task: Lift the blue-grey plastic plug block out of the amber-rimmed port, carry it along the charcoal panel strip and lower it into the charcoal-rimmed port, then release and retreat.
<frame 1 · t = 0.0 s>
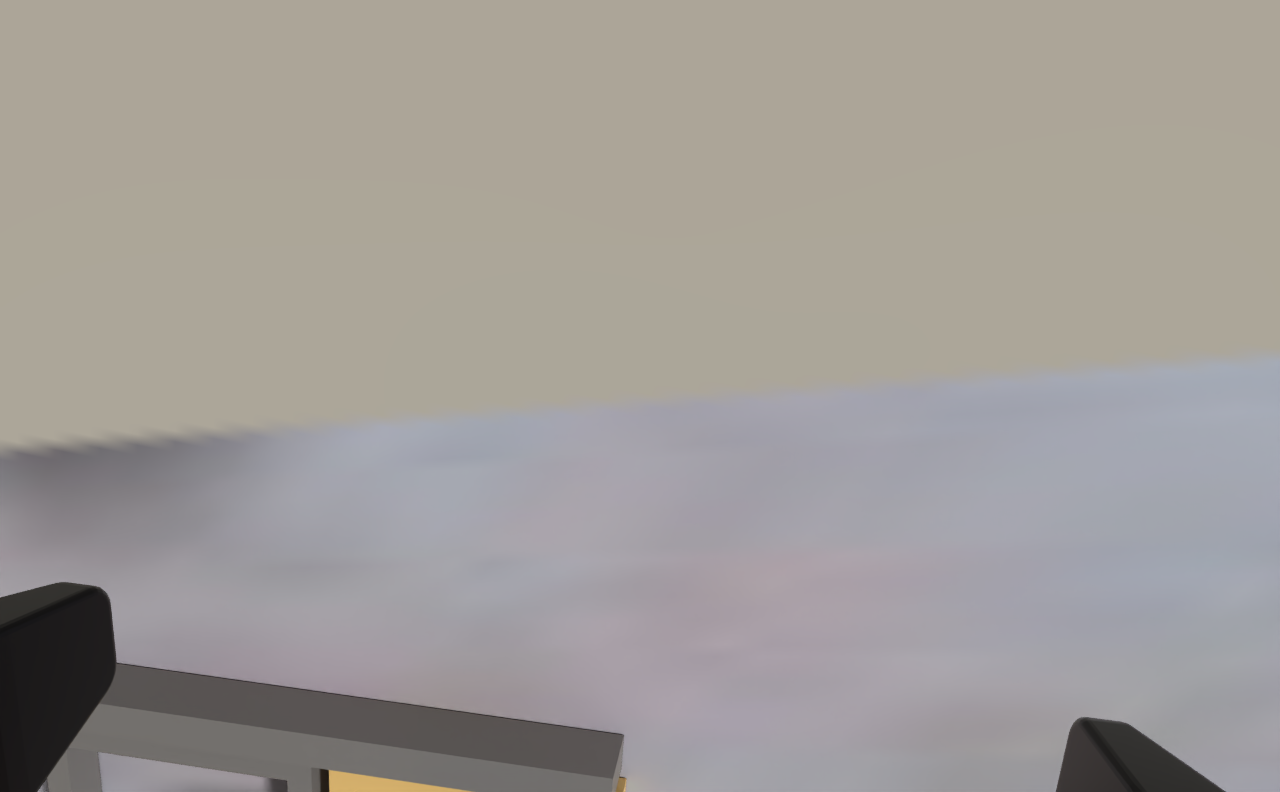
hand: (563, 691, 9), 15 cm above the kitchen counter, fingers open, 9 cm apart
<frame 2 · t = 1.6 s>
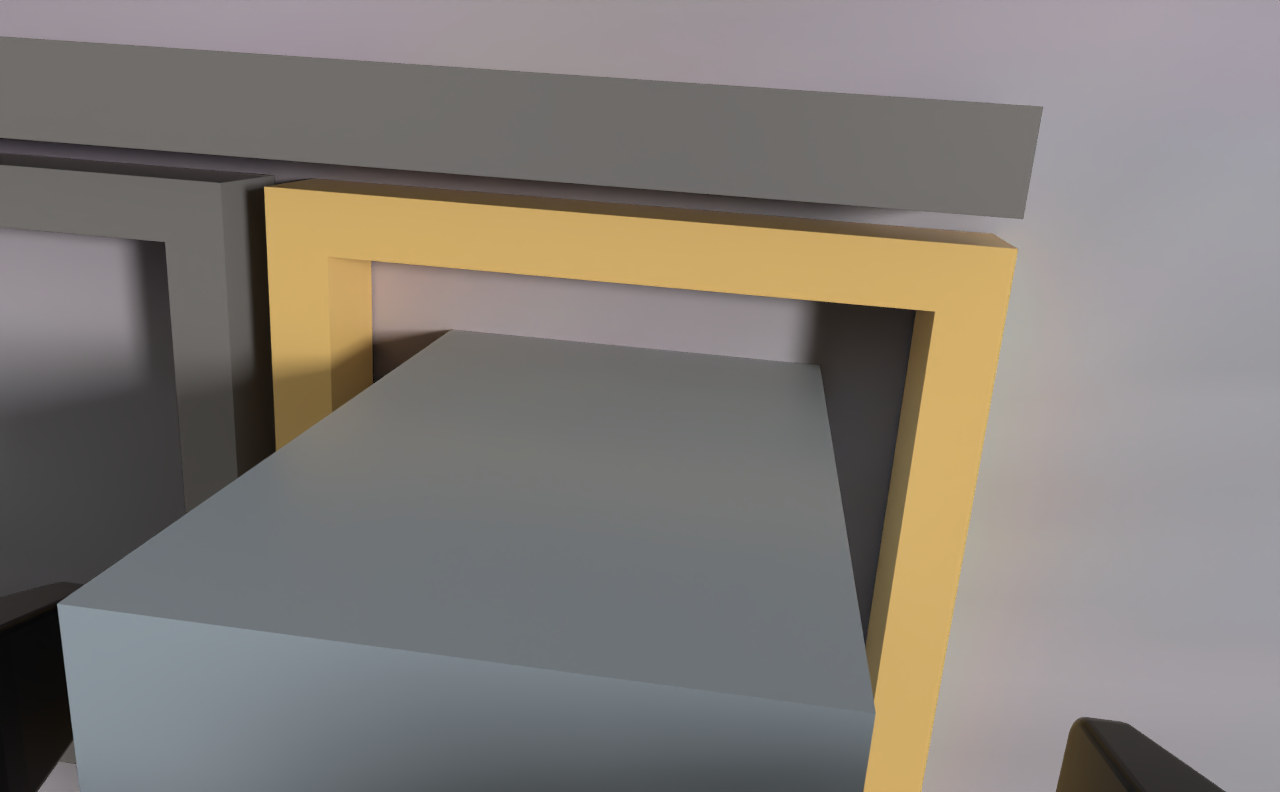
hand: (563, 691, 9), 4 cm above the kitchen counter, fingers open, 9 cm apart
plug: (620, 517, 13), resting in patch panel
patch panel: (305, 482, 13), on the kitchen counter
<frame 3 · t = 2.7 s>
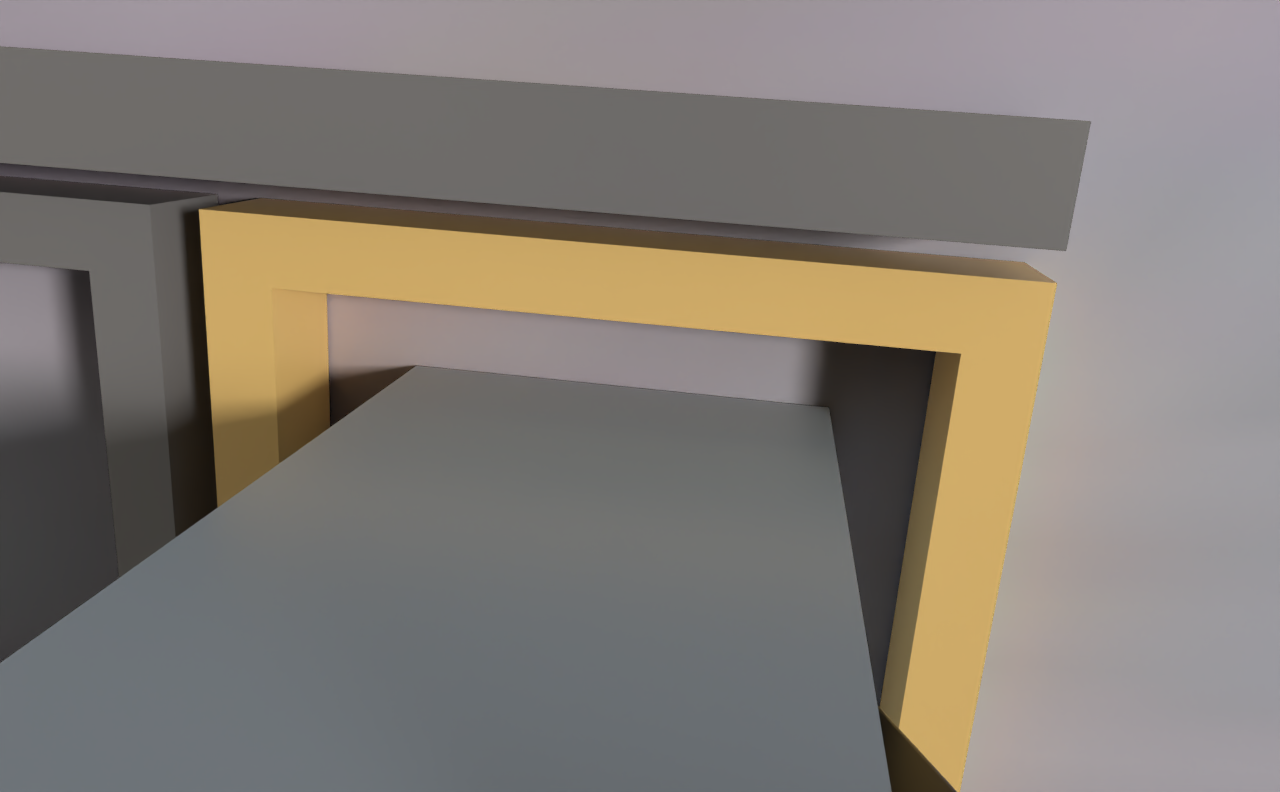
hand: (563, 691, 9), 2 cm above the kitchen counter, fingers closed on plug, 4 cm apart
plug: (606, 574, 11), resting in patch panel, touching gripper
patch panel: (256, 533, 12), on the kitchen counter
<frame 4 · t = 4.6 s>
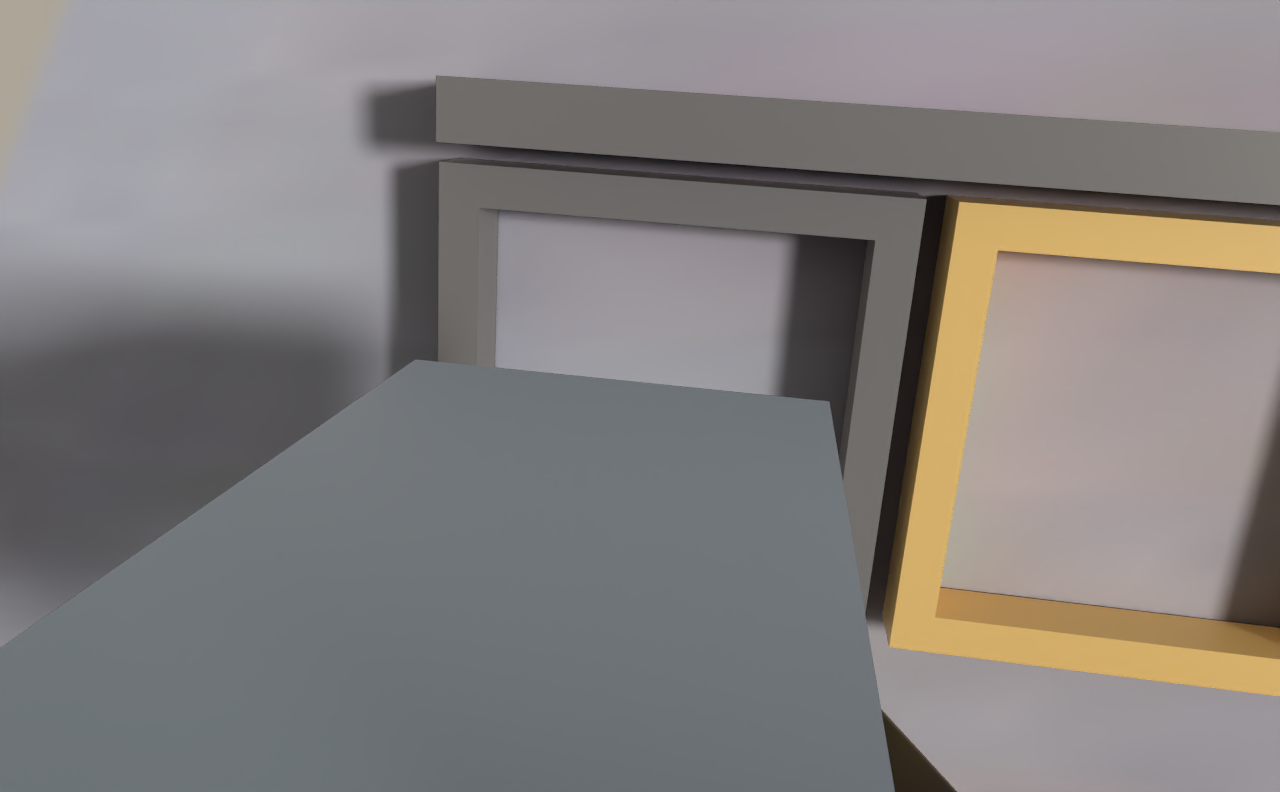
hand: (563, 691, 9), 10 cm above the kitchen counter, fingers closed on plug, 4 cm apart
plug: (605, 569, 11), point 7 cm above the kitchen counter, touching gripper
patch panel: (898, 416, 18), on the kitchen counter
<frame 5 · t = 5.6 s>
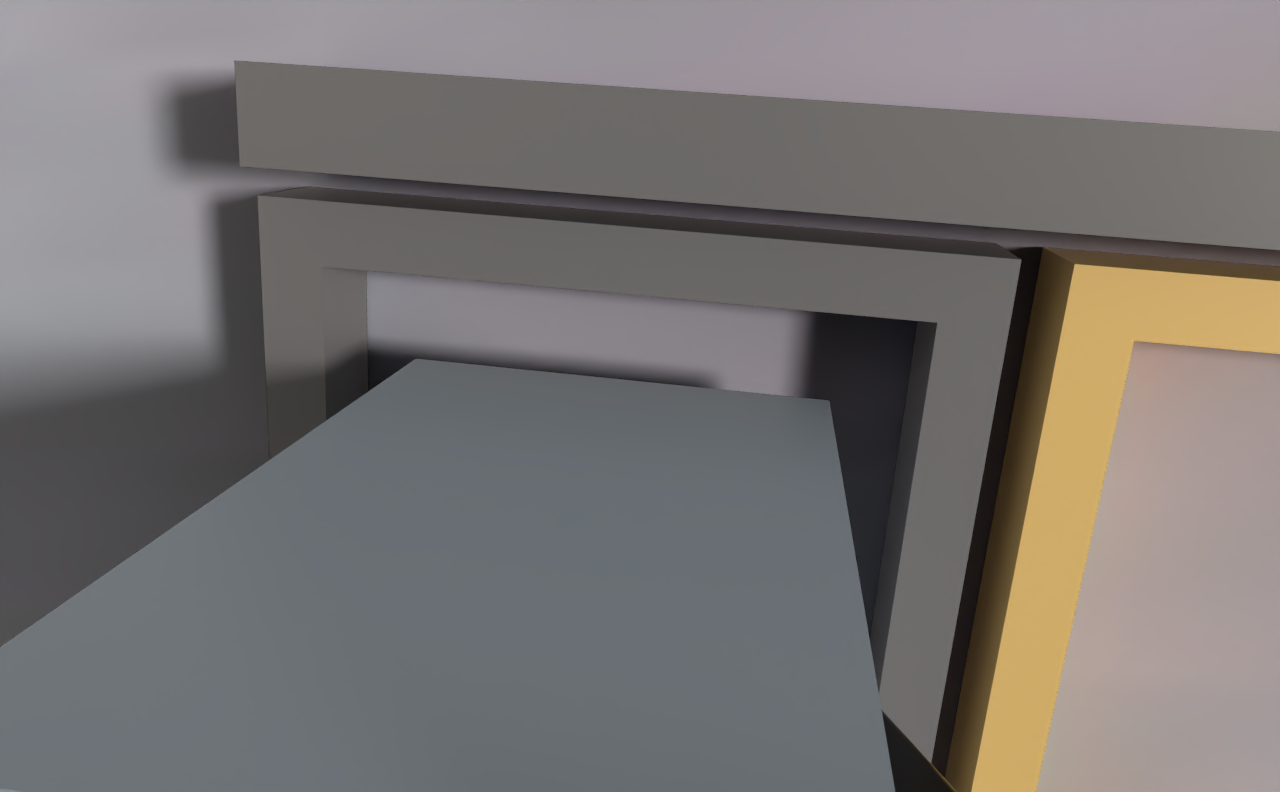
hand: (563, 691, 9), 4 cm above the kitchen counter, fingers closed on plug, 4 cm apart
plug: (606, 568, 11), point 1 cm above the kitchen counter, touching gripper
patch panel: (961, 571, 12), on the kitchen counter
when the fingers open (3 cm above the kitchen counter, at t = 6.2 s): plug drops 1 cm, resting in patch panel.
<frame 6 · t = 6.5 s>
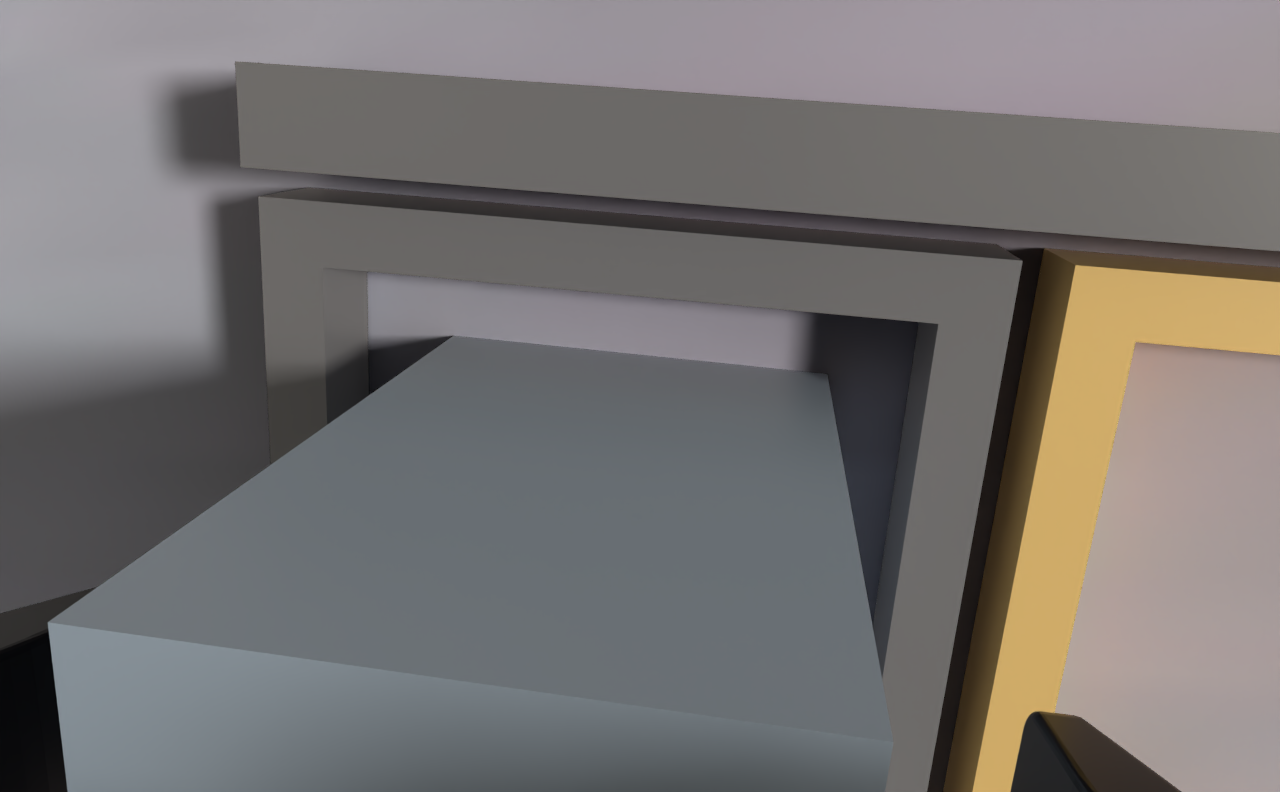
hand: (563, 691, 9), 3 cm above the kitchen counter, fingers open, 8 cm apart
plug: (624, 526, 12), resting in patch panel
patch panel: (962, 572, 12), on the kitchen counter
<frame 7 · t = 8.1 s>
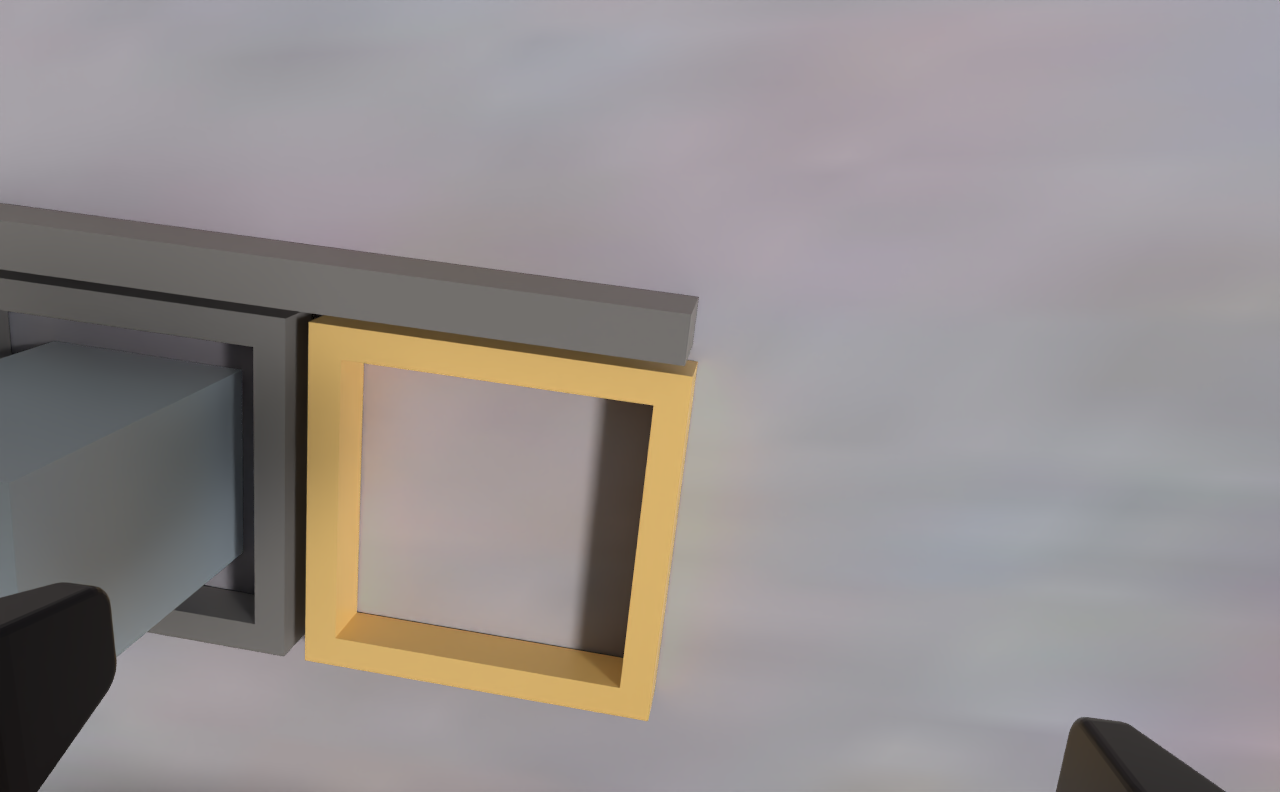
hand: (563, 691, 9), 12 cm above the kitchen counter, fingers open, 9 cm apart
plug: (151, 448, 23), resting in patch panel
patch panel: (320, 478, 22), on the kitchen counter
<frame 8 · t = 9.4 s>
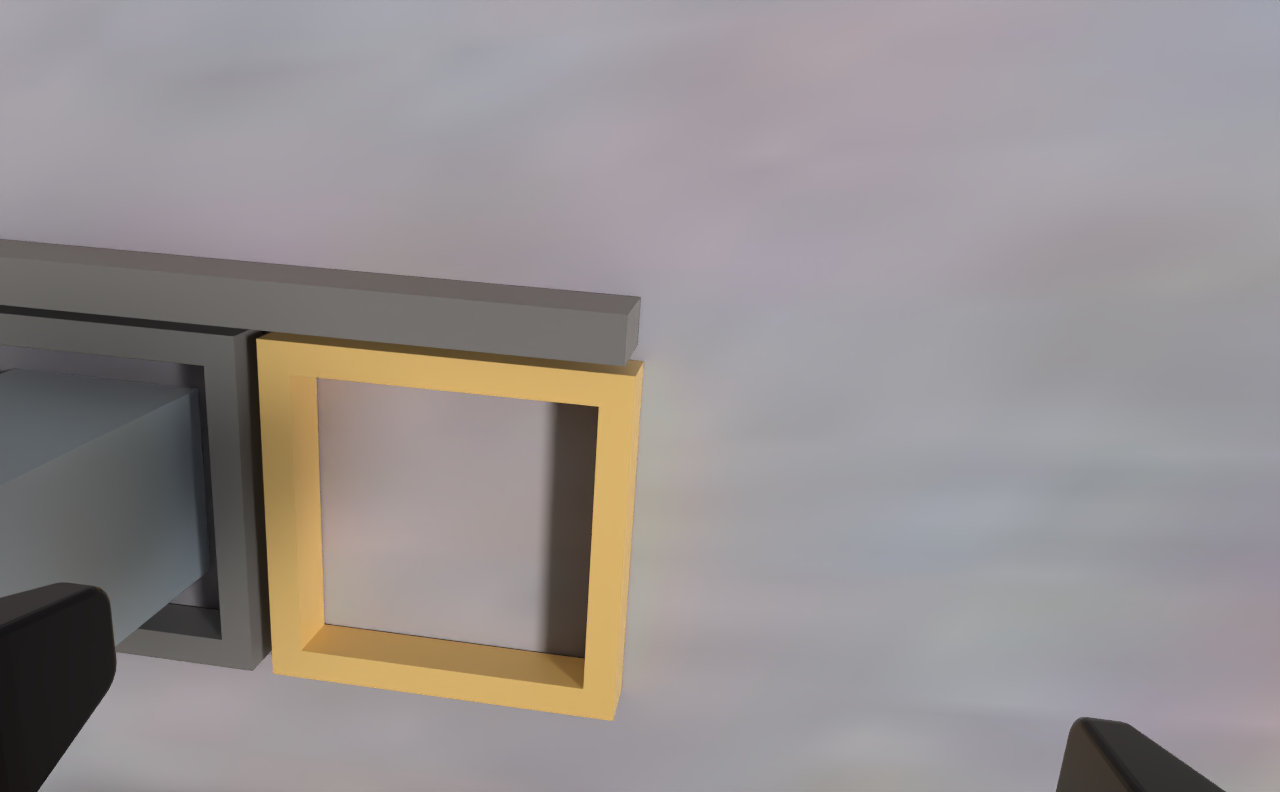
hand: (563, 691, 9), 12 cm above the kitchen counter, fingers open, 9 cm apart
plug: (114, 470, 23), resting in patch panel
patch panel: (280, 493, 23), on the kitchen counter
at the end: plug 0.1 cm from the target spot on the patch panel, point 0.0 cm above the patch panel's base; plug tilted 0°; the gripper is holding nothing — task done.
